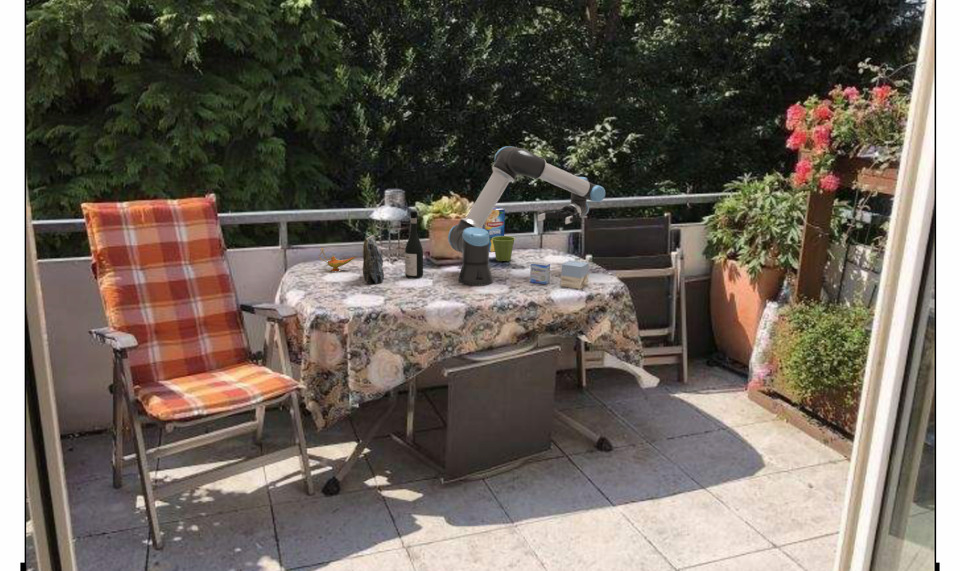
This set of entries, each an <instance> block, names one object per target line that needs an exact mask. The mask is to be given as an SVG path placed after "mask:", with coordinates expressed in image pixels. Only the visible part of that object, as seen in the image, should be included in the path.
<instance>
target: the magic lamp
mask: <svg viewBox="0 0 960 571" xmlns="http://www.w3.org/2000/svg"><path fill="white" fill-rule="evenodd" d="M321 254H323V257H324V258H325V259H323V258H321ZM318 257H319V259H320V260H322V261H324V262H325V263H326V264H327V266H329V267H331V269H330V270H331V271H339V270H341V269H340V267H343V266H345V265H346V264H349V263H350V262H351V261H353V260H354V259H356V258H358V257H359V256H358V255H357V256H351V257H350V258H347V259H342V260H341V259H337V258H336V257H335V255H332V256H331V257H330V258H327V257H326V254H325V252H324V248H322V247H321V248H320V254H319V256H318ZM326 260H327V261H326ZM331 271H330V272H331ZM339 272H340V271H339Z"/></svg>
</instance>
